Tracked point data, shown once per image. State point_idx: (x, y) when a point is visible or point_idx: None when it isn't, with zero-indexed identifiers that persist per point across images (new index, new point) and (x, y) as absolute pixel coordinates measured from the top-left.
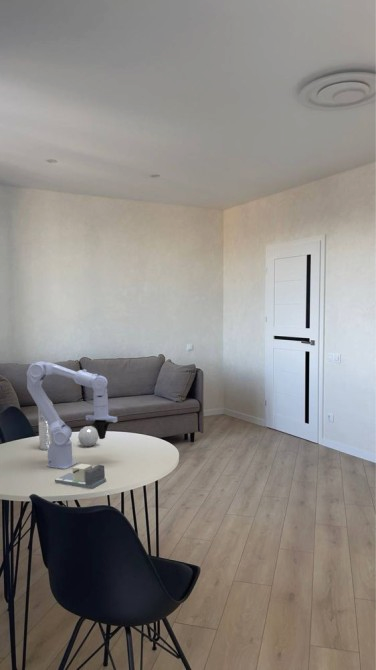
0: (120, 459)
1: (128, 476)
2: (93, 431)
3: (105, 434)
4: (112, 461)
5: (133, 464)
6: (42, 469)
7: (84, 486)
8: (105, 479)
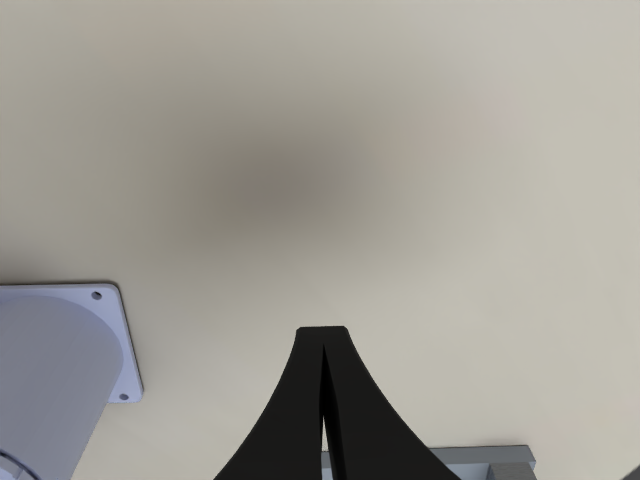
0: (398, 37)
1: (633, 352)
2: None
3: (357, 354)
4: (356, 124)
5: (589, 131)
6: None
7: None
8: (532, 458)
